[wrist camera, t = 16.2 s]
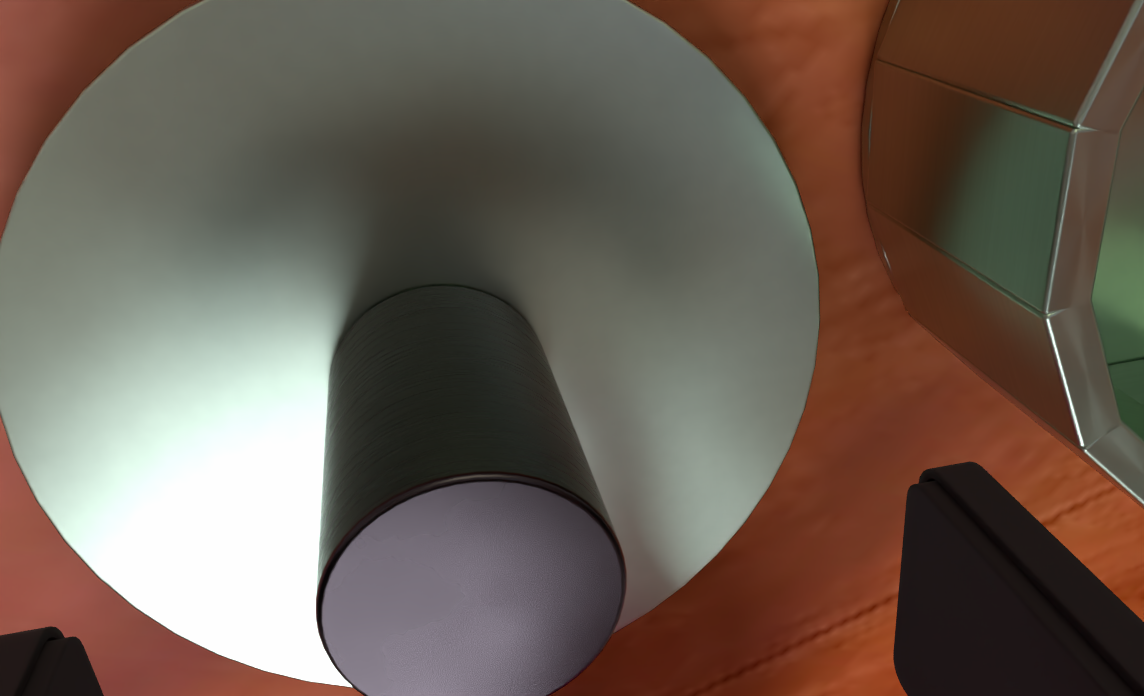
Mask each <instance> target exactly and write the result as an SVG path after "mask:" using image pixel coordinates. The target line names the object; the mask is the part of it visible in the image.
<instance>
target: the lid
mask: <svg viewBox="0 0 1144 696" xmlns="http://www.w3.org/2000/svg"><path fill="white" fill-rule="evenodd" d="M819 327H820V300H819V273H818V267H817V262H816V256H815V250H814V244H813V238H812V232H811V227H810V224H809V221H808V218H807V215H806V212H805V209H804V206H803V203H802V199H801V196H800V193H799V190H798V187H797V184H796V182H795V180H794V178H793V175H792V173H791V171H790V169H789V167H788V165H787V163H786V161H785V159H784V157H783V155H782V153H781V151H780V149H779V147H778V145H777V143H776V141H775V139H774V137H773V136H772V134H771V133H770V131H769V130H768V129H767V127H766V126H765V124H764V123H763V121H762V120H761V118H760V117H759V116H758V114H757V113H756V111H755V110H754V108H753V107H752V105H751V104H750V102H749V101H748V100H747V98H746V97H745V95H744V94H743V93H742V92H741V91H740V90H739V89H738V88H737V87H736V86H735V85H734V84H733V82H732V81H731V80H730V79H729V78H728V77H727V76H726V75H725V74H724V73H723V72H722V71H721V70H720V69H719V67H718V66H717V65H716V64H715V63H714V62H713V61H712V60H711V59H710V58H709V57H708V56H707V55H706V54H705V53H703V52H702V51H701V50H700V49H698V48H697V47H696V46H695V45H693V44H692V43H691V42H690V41H688V40H687V39H686V38H685V37H683V36H682V35H681V34H680V33H678V32H677V31H676V30H675V29H673V28H672V27H671V26H670V25H668V24H667V23H666V22H665V21H663V20H661V19H659V18H658V17H656V16H654V15H653V14H651V13H649V12H648V11H646V10H644V9H642V8H641V7H639V6H637V5H636V4H634V3H632V2H631V1H629V0H198V1H196V2H194V3H192V4H190V5H188V6H186V7H184V8H183V9H182V10H180V11H179V12H177V13H176V14H174V15H173V16H172V17H170V18H169V19H167V20H166V21H164V22H163V23H161V24H160V25H159V26H157V27H156V28H154V29H153V30H151V31H150V32H149V33H147V34H146V35H144V36H143V37H141V38H140V39H139V40H137V41H136V42H134V43H133V44H131V45H130V46H129V47H128V48H127V49H125V50H124V51H123V52H122V53H121V54H120V55H119V56H118V57H117V58H116V59H115V60H114V61H113V62H112V63H111V64H110V65H109V66H108V67H107V68H106V69H104V70H103V71H102V72H101V73H100V74H99V75H98V76H97V77H96V78H95V79H94V80H93V81H92V82H91V83H90V84H89V85H88V86H87V87H86V88H85V89H83V90H82V92H81V93H80V94H79V96H78V97H77V98H76V100H75V101H74V102H73V103H72V105H71V106H70V107H69V109H68V110H67V111H66V113H65V114H64V115H63V116H62V118H61V119H60V120H59V122H58V123H57V124H56V126H55V127H54V128H53V130H52V131H51V132H50V133H49V135H48V136H47V137H46V139H45V140H44V142H43V144H42V146H41V148H40V150H39V151H38V153H37V155H36V157H35V159H34V161H33V163H32V164H31V166H30V168H29V170H28V172H27V174H26V176H25V177H24V179H23V181H22V183H21V185H20V187H19V189H18V190H17V193H16V196H15V199H14V202H13V205H12V207H11V210H10V213H9V216H8V219H7V222H6V225H5V228H4V231H3V234H2V237H1V239H0V416H1V419H2V422H3V425H4V428H5V431H6V434H7V437H8V440H9V443H10V446H11V449H12V453H13V456H14V458H15V460H16V462H17V464H18V466H19V468H20V470H21V472H22V474H23V476H24V478H25V480H26V482H27V483H28V485H29V487H30V489H31V491H32V493H33V495H34V497H35V499H36V501H37V503H38V504H39V505H40V507H41V508H42V510H43V511H44V513H45V514H46V515H47V517H48V518H49V520H50V521H51V523H52V524H53V525H54V527H55V528H56V530H57V531H58V533H59V534H60V536H61V537H62V538H63V540H64V541H65V542H66V543H67V544H68V546H69V547H70V548H71V549H72V550H73V551H74V552H75V553H76V554H77V555H78V556H79V557H80V559H81V560H82V561H83V562H84V563H85V564H86V565H87V566H88V567H89V568H90V569H91V570H92V571H93V573H94V574H95V575H96V576H97V577H98V578H99V579H101V580H102V581H103V582H104V583H105V584H107V585H108V586H109V587H110V588H111V589H113V590H114V591H115V592H116V593H117V594H119V595H120V596H121V597H122V598H123V599H125V600H126V601H127V602H128V603H129V604H131V605H132V606H133V607H134V608H136V609H137V610H139V611H140V612H142V613H143V614H145V615H146V616H148V617H150V618H151V619H153V620H154V621H156V622H157V623H159V624H160V625H162V626H164V627H165V628H167V629H168V630H170V631H171V632H173V633H174V634H176V635H178V636H180V637H182V638H184V639H187V640H189V641H191V642H193V643H195V644H197V645H199V646H201V647H203V648H205V649H207V650H209V651H211V652H213V653H215V654H217V655H220V656H222V657H225V658H228V659H231V660H234V661H236V662H239V663H242V664H245V665H248V666H250V667H253V668H256V669H259V670H262V671H265V672H270V673H274V674H278V675H282V676H286V677H290V678H294V679H299V680H303V681H307V682H314V683H321V684H329V685H336V686H343V687H351V688H355V689H356V690H357V691H358V692H360V693H361V694H363V695H364V696H549V695H551V694H553V693H554V692H556V691H558V690H559V689H561V688H562V687H564V686H565V685H567V684H568V683H569V682H571V681H572V680H573V679H575V678H576V677H577V676H578V675H579V674H581V673H582V672H583V671H584V670H585V669H586V668H587V667H588V666H589V665H590V664H591V663H592V662H593V661H594V659H595V658H596V657H597V656H598V655H599V654H600V652H601V651H602V650H603V648H604V647H605V645H606V644H607V642H608V641H609V639H610V638H611V636H612V634H614V633H615V632H617V631H619V630H620V629H622V628H624V627H625V626H627V625H629V624H630V623H632V622H633V621H635V620H637V619H638V618H640V617H642V616H643V615H645V614H647V613H648V612H650V611H651V610H653V609H654V608H655V607H657V606H658V605H659V604H661V603H662V602H663V601H665V600H666V599H667V598H668V597H670V596H671V595H672V594H674V593H675V592H676V591H678V590H679V589H680V588H682V587H683V586H684V585H686V584H687V583H688V582H689V581H690V580H691V579H692V578H693V577H694V576H695V575H696V574H697V573H698V572H699V571H701V570H702V569H703V568H704V567H705V566H706V565H707V564H708V563H709V562H710V561H711V560H712V559H713V558H714V557H716V556H717V555H718V553H719V552H720V551H721V550H722V549H723V548H724V546H725V545H726V544H727V543H728V542H729V541H730V539H731V538H732V537H733V536H734V535H735V534H736V532H737V531H738V530H739V529H740V528H741V527H742V526H743V524H744V523H745V522H746V520H747V519H748V518H749V516H750V515H751V513H752V512H753V510H754V509H755V507H756V506H757V504H758V503H759V501H760V500H761V499H762V497H763V496H764V494H765V493H766V491H767V490H768V488H769V487H770V485H771V483H772V481H773V479H774V477H775V475H776V474H777V472H778V470H779V468H780V466H781V464H782V462H783V460H784V458H785V456H786V455H787V453H788V451H789V449H790V446H791V444H792V441H793V438H794V436H795V433H796V430H797V428H798V425H799V423H800V420H801V417H802V415H803V412H804V409H805V406H806V402H807V398H808V394H809V390H810V385H811V381H812V377H813V373H814V369H815V364H816V355H817V345H818V336H819Z"/></svg>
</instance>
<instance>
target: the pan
mask: <svg viewBox="0 0 1144 696" xmlns="http://www.w3.org/2000/svg"><path fill="white" fill-rule="evenodd" d="M862 178H863V186H864V193H865V200H866V207H867V215H868V219H869V222H870V226H871V229H872V233H873V236H874V240H875V243H876V247H877V250H878V254H879V256H880V258H881V260H882V262H883V264H884V267H885V269H886V271H887V273H888V275H889V277H890V280H891V282H892V284H893V286H894V288H895V289H896V291H897V292H898V294H899V295H900V297H901V298H902V301H903V304H904V306H905V309H906V310H907V311H908V313H909V315H910V316H911V317H912V318H913V319H914V320H915V321H917V322H918V323H919V324H920V325H921V326H922V327H923V328H924V329H926V330H927V331H928V332H929V333H930V334H931V335H932V336H933V337H934V338H935V339H936V340H937V341H939V342H940V343H941V344H942V345H944V346H945V347H946V348H947V349H948V350H950V351H951V352H952V353H953V354H954V355H955V356H956V357H958V358H959V359H960V360H961V361H962V362H963V363H964V364H965V365H967V366H968V367H969V368H970V369H971V370H972V371H973V372H975V373H976V374H977V375H978V376H979V377H980V378H982V379H983V380H984V381H985V382H987V383H988V384H989V385H990V386H992V387H993V388H994V389H995V390H997V391H998V392H999V393H1000V394H1002V395H1003V396H1004V397H1005V398H1007V399H1008V400H1009V401H1010V402H1011V403H1013V404H1014V405H1015V406H1016V407H1018V408H1019V409H1020V410H1021V411H1023V412H1024V413H1025V414H1026V415H1028V416H1029V417H1030V418H1031V419H1033V420H1034V421H1035V422H1036V423H1038V424H1039V425H1040V426H1041V427H1043V428H1044V429H1045V430H1046V431H1048V432H1049V433H1050V434H1051V435H1053V436H1054V437H1055V438H1056V439H1058V440H1059V441H1060V442H1061V443H1063V444H1064V445H1065V446H1066V447H1068V448H1069V449H1070V450H1071V451H1073V452H1074V453H1075V454H1076V455H1078V456H1079V457H1080V458H1081V459H1082V460H1084V461H1085V462H1086V463H1087V464H1089V465H1090V466H1091V467H1092V468H1094V469H1095V470H1096V471H1097V472H1099V473H1100V474H1101V475H1102V476H1104V477H1105V478H1106V479H1107V480H1109V481H1110V482H1111V483H1112V484H1114V485H1115V486H1116V487H1117V488H1119V489H1120V490H1121V491H1122V492H1124V493H1125V494H1126V495H1127V496H1129V497H1130V498H1131V499H1132V500H1134V501H1135V502H1136V503H1137V504H1139V505H1140V506H1141V507H1142V508H1144V0H890V1H889V4H888V7H887V10H886V13H885V15H884V18H883V21H882V24H881V27H880V30H879V33H878V37H877V41H876V46H875V50H874V54H873V58H872V63H871V67H870V71H869V75H868V80H867V87H866V95H865V104H864V113H863V121H862Z"/></svg>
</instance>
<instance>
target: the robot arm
mask: <svg viewBox="0 0 1144 696" xmlns="http://www.w3.org/2000/svg"><path fill="white" fill-rule="evenodd" d="M894 665H895V670H896V673H897V676H898V679H899V681H900V683H901V685H902V687H903V689H904V690H905V692H906V693H907V695H908V696H1144V622H1143V621H1142V620H1141V619H1140V618H1139V617H1138V616H1137V615H1136V614H1135V613H1133V612H1132V611H1131V610H1130V609H1129V608H1128V607H1127V606H1126V605H1125V604H1124V603H1123V602H1122V601H1121V600H1120V599H1119V598H1118V597H1117V596H1116V595H1115V594H1114V593H1113V592H1112V591H1111V590H1110V589H1109V588H1107V587H1106V586H1105V585H1104V584H1103V583H1102V582H1101V581H1100V580H1099V579H1098V578H1097V577H1096V576H1095V575H1094V574H1093V573H1092V572H1091V571H1090V570H1089V569H1088V568H1087V567H1086V566H1085V565H1084V564H1082V563H1081V562H1080V561H1079V560H1078V559H1077V558H1076V557H1075V556H1074V555H1073V554H1072V553H1071V552H1070V551H1069V550H1068V549H1067V548H1066V547H1065V546H1064V545H1063V544H1062V543H1061V542H1060V541H1059V540H1058V539H1056V538H1055V537H1054V536H1053V535H1052V534H1051V533H1050V532H1049V531H1048V530H1047V529H1046V528H1045V527H1044V526H1043V525H1042V524H1041V523H1040V522H1039V521H1038V520H1037V519H1036V518H1035V517H1034V516H1033V515H1031V514H1030V513H1029V512H1028V511H1027V510H1026V509H1025V508H1024V507H1023V506H1022V505H1021V504H1020V503H1019V502H1018V501H1017V500H1016V499H1015V498H1014V497H1013V496H1012V495H1011V494H1010V493H1009V492H1008V491H1007V490H1005V489H1004V488H1003V487H1002V486H1001V485H1000V484H999V483H998V482H997V481H996V480H995V479H994V478H993V477H992V476H991V475H990V474H989V473H988V472H987V471H986V470H985V469H984V468H983V467H981V466H980V465H978V464H977V463H975V462H965V463H960V464H954V465H948V466H943V467H937V468H932V469H927V470H925V471H923V473H922V474H921V476H920V479H919V484H914V485H912V486H910V488H909V490H908V493H907V501H906V513H905V525H904V537H903V548H902V560H901V572H900V583H899V595H898V607H897V619H896V630H895V642H894ZM0 696H104V695H103V693H102V690H101V688H100V685H99V683H98V680H97V678H96V676H95V673H94V671H93V668H92V666H91V663H90V661H89V659H88V656H87V654H86V651H85V649H84V646H83V645H82V643H81V641H80V640H79V639H78V638H77V637H68V638H65V637H64V636H63V634H62V632H61V631H60V630H59V629H58V628H56V627H45V628H40V629H34V630H28V631H23V632H17V633H12V634H6V635H1V636H0Z"/></svg>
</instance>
